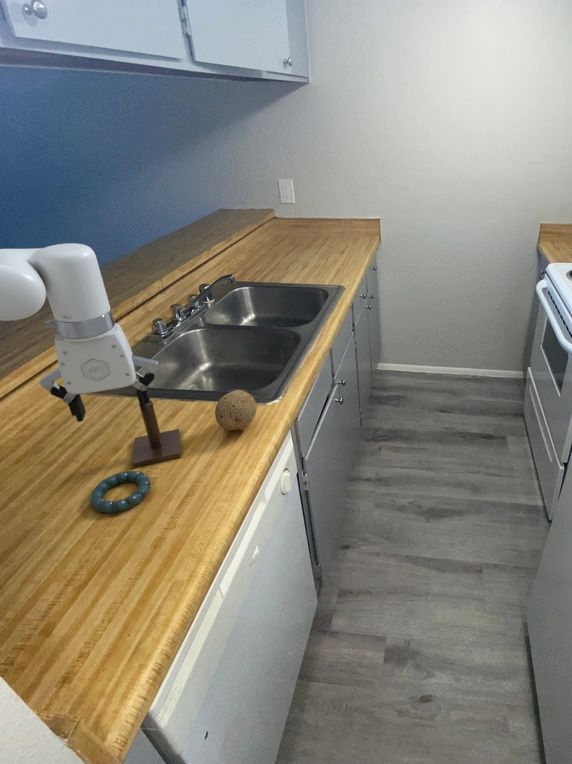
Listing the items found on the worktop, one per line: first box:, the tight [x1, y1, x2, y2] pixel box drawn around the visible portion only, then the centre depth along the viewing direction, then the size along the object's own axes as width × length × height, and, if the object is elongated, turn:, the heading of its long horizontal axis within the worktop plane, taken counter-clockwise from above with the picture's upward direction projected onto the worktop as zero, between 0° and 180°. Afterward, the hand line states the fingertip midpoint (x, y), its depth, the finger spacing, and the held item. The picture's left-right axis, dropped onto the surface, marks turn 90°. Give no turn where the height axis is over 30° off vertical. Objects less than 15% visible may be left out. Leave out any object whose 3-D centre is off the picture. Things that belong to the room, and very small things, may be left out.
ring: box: [89, 470, 151, 514], centre depth 90 cm, size 10×10×2 cm
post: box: [131, 399, 182, 468], centre depth 100 cm, size 9×9×12 cm
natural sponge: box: [214, 389, 258, 431], centre depth 108 cm, size 9×9×10 cm
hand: (113, 411), depth 83 cm, fingers open, 9 cm apart
